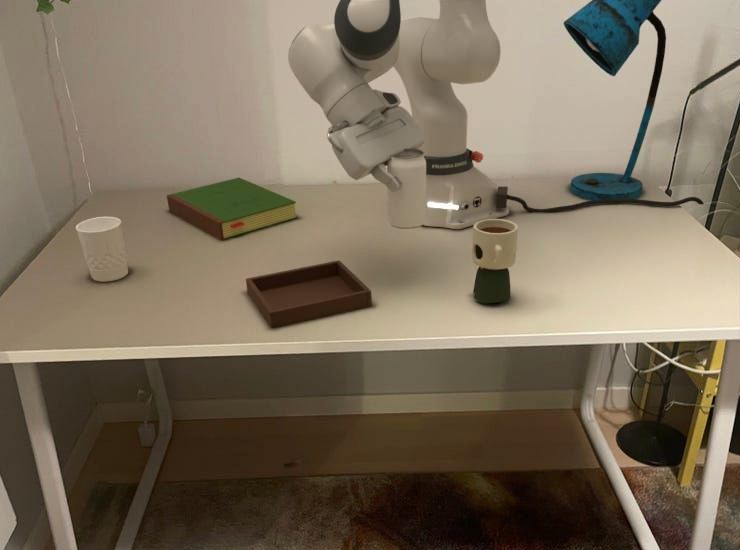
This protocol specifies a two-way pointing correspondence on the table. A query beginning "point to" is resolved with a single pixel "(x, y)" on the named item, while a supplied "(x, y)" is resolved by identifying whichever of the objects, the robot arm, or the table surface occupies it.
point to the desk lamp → (610, 51)
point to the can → (407, 189)
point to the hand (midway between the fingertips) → (409, 182)
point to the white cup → (103, 248)
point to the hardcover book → (231, 208)
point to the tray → (307, 293)
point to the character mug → (493, 258)
